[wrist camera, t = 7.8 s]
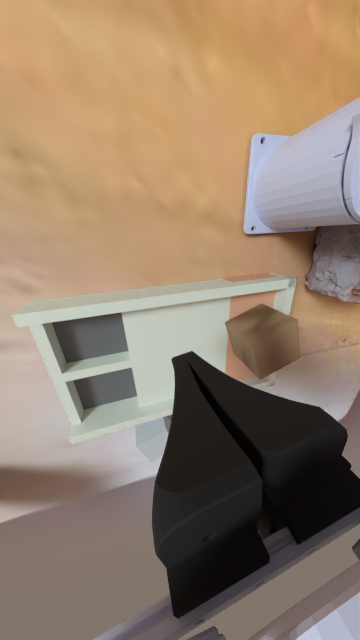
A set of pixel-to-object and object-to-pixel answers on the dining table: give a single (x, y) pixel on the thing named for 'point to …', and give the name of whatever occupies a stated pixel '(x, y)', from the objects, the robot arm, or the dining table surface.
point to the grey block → (153, 437)
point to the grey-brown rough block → (336, 263)
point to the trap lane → (142, 344)
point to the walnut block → (264, 339)
